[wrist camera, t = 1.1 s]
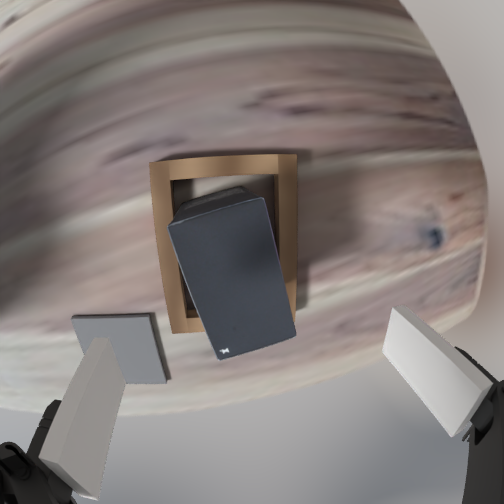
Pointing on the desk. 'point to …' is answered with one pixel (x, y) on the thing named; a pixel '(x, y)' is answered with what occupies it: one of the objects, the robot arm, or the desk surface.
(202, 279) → the small box
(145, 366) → the mat
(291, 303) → the wooden frame
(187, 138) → the desk surface
